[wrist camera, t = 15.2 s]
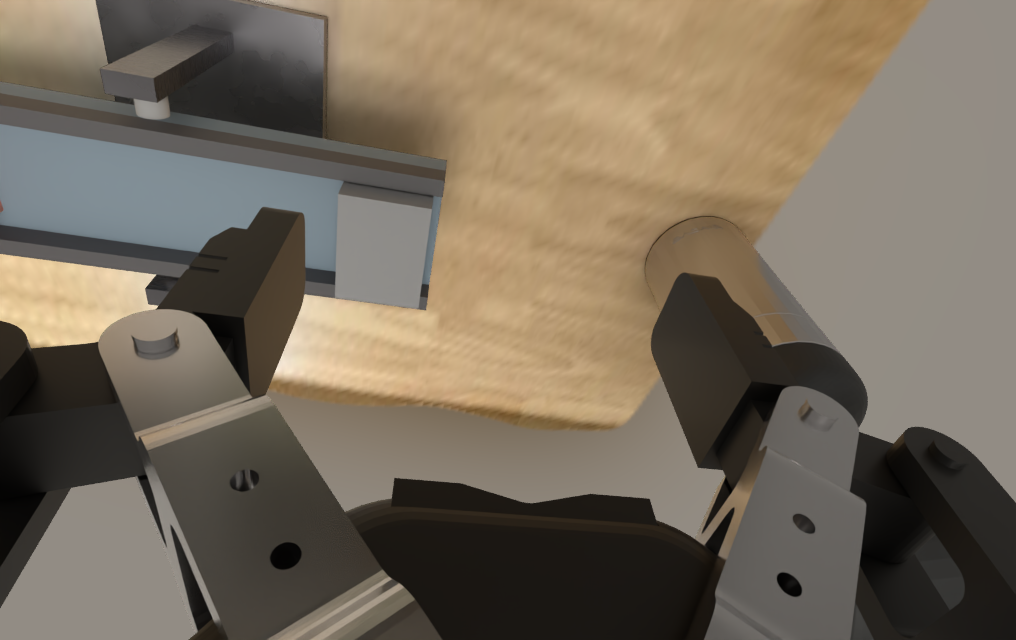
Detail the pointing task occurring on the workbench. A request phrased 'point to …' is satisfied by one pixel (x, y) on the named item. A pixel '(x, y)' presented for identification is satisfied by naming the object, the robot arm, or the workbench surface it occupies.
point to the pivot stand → (218, 66)
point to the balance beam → (208, 193)
